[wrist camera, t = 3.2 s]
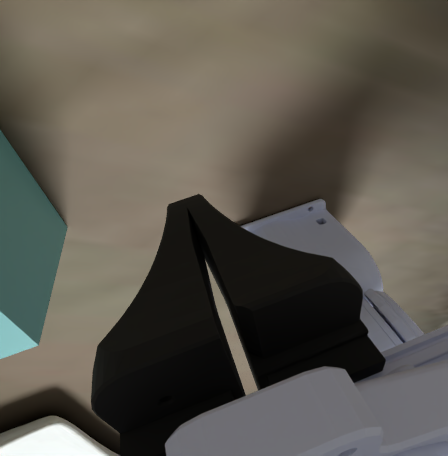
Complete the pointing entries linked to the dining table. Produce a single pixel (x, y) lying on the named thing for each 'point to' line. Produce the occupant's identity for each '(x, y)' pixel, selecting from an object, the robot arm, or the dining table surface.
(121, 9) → the dining table surface
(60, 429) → the square plate
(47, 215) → the teal slab
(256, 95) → the dining table surface
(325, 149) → the dining table surface
